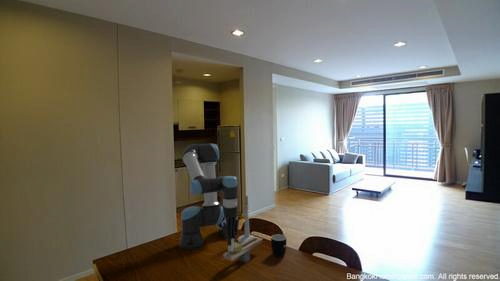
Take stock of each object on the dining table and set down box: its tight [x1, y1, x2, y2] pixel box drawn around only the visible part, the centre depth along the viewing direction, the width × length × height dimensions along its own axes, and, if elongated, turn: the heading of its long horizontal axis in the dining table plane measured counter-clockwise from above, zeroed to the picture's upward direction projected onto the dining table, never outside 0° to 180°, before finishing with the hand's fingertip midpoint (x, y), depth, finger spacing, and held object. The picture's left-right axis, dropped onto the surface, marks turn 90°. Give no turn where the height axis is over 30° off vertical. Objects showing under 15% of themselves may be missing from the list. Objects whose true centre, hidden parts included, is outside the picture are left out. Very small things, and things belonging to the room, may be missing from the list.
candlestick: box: [236, 195, 255, 244], centre depth 171 cm, size 13×13×30 cm
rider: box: [232, 241, 242, 254], centre depth 138 cm, size 6×5×5 cm
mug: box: [270, 233, 287, 258], centre depth 152 cm, size 12×9×10 cm
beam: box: [222, 235, 264, 264], centre depth 145 cm, size 6×28×8 cm, turn 143°
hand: (231, 250), depth 136 cm, fingers closed
